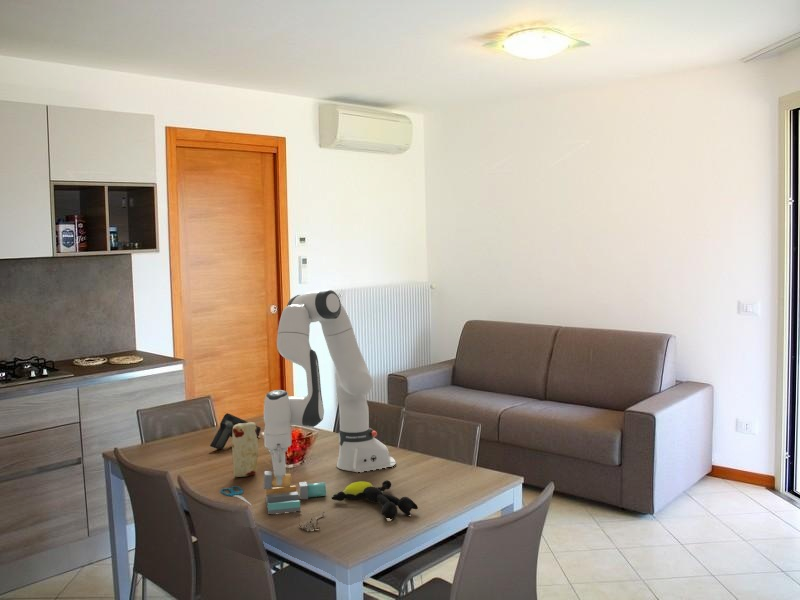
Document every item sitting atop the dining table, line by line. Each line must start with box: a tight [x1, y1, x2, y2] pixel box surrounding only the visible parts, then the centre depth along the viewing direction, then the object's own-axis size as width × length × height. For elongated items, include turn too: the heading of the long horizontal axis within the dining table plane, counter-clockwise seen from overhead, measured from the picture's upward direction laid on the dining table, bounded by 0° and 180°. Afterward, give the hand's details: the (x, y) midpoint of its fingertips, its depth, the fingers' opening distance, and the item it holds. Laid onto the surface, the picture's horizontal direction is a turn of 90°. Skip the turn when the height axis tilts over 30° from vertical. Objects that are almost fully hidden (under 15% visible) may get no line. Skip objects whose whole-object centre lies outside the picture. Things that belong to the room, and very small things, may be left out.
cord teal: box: [298, 481, 327, 500], centre depth 238 cm, size 8×4×5 cm, turn 103°
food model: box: [231, 421, 259, 478], centre depth 261 cm, size 10×7×20 cm
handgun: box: [209, 413, 262, 450], centre depth 305 cm, size 2×24×15 cm, turn 148°
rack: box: [265, 485, 301, 515], centre depth 231 cm, size 10×15×4 cm, turn 14°
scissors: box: [220, 485, 252, 506], centre depth 240 cm, size 7×1×20 cm
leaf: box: [298, 510, 326, 532], centre depth 216 cm, size 11×15×2 cm
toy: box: [331, 480, 419, 519], centre depth 230 cm, size 23×6×30 cm
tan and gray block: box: [263, 470, 292, 490], centre depth 235 cm, size 8×4×5 cm, turn 103°
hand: (278, 481), depth 235 cm, fingers closed on tan and gray block, 4 cm apart
